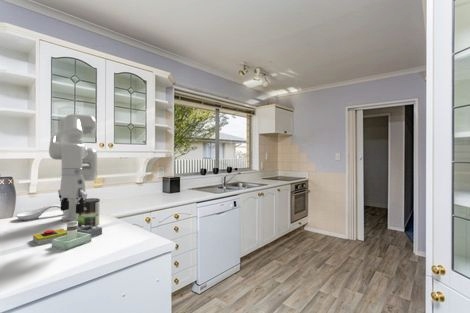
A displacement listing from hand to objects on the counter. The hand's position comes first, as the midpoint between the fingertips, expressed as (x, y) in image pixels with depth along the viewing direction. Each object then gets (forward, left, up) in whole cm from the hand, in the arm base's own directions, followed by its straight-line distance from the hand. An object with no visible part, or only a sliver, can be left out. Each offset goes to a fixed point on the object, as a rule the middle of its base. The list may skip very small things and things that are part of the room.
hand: (72, 211), depth 105 cm
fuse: (0, 0, -13) cm, 13 cm away
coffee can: (-21, -17, -14) cm, 30 cm away
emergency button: (0, -14, -15) cm, 20 cm away
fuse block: (-11, -4, -14) cm, 18 cm away
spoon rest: (-21, -59, -15) cm, 65 cm away
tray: (0, +1, -14) cm, 14 cm away
